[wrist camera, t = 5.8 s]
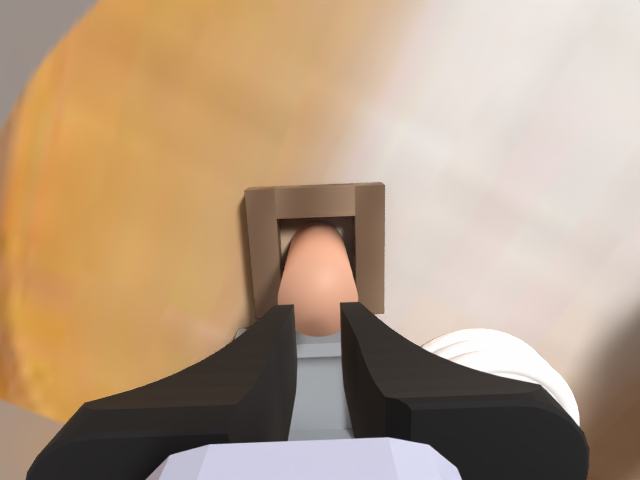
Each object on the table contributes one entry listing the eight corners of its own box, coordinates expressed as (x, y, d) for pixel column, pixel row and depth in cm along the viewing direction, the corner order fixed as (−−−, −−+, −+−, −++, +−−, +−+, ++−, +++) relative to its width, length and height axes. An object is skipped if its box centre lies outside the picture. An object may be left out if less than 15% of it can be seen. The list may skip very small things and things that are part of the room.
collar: (380, 182, 20) (384, 185, 19) (380, 304, 22) (384, 313, 20) (248, 187, 20) (244, 190, 19) (259, 309, 22) (255, 318, 20)
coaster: (569, 420, 24) (611, 466, 21) (430, 483, 25) (447, 537, 22) (508, 295, 22) (544, 324, 18) (358, 372, 23) (366, 412, 20)
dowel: (343, 220, 20) (357, 260, 14) (345, 273, 21) (358, 335, 14) (288, 222, 20) (275, 263, 14) (291, 274, 21) (280, 338, 14)
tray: (368, 323, 22) (373, 341, 20) (368, 432, 24) (373, 457, 22) (238, 328, 22) (231, 347, 20) (249, 436, 24) (244, 462, 22)
